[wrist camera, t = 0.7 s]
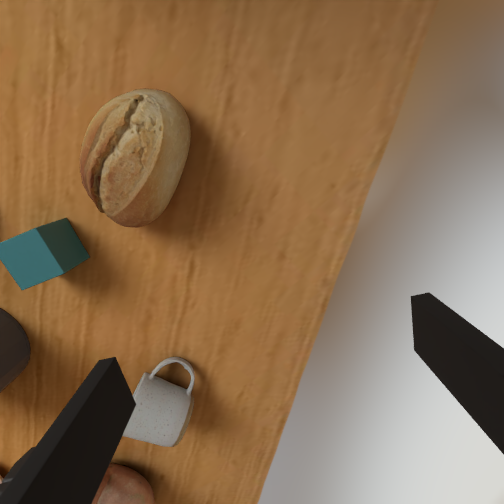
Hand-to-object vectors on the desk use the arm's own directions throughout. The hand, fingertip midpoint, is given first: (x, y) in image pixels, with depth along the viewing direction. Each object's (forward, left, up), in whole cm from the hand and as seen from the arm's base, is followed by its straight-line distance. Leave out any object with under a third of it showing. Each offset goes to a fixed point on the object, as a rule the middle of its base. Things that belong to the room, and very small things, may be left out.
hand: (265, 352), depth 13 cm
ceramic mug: (+17, -21, -25) cm, 37 cm away
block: (-7, -24, -25) cm, 35 cm away
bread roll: (-12, -9, -25) cm, 29 cm away
